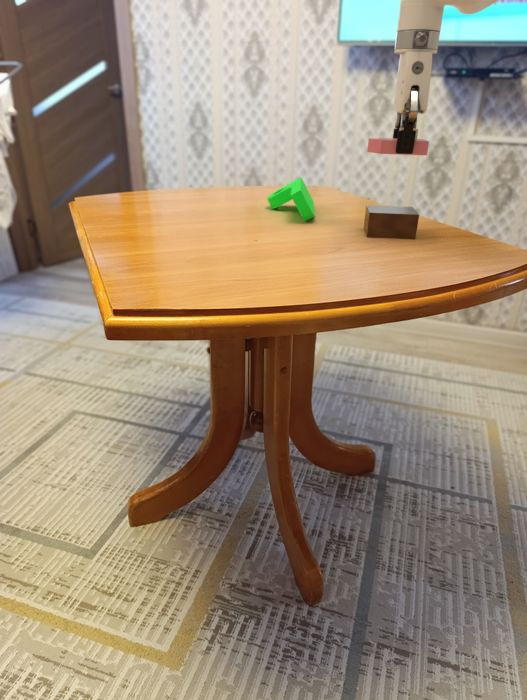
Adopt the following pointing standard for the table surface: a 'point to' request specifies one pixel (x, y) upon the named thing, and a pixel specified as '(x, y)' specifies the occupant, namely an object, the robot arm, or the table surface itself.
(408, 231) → the block
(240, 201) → the table surface
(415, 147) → the boat
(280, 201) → the bracket
